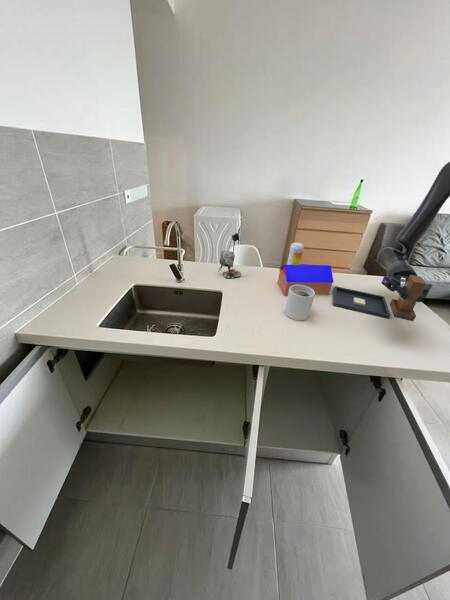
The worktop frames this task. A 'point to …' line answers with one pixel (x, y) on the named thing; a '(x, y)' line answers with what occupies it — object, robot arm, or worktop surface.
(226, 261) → the bird figurine
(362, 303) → the paper scrap
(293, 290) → the mug
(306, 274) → the blue-topped block
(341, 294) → the tray
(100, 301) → the worktop surface
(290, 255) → the white capped yellow bottle
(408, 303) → the brown post on base
